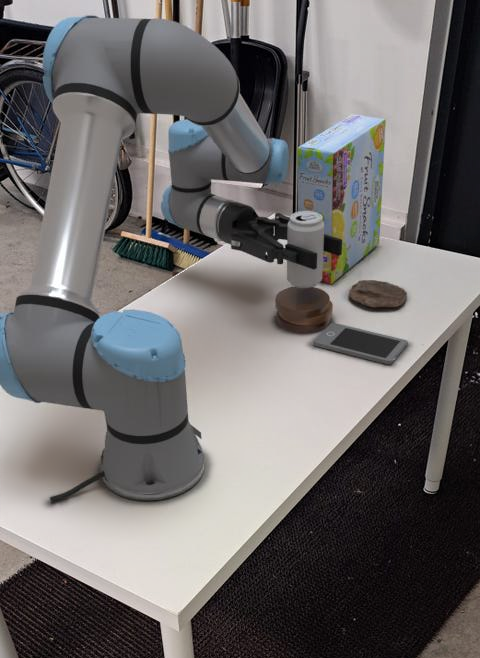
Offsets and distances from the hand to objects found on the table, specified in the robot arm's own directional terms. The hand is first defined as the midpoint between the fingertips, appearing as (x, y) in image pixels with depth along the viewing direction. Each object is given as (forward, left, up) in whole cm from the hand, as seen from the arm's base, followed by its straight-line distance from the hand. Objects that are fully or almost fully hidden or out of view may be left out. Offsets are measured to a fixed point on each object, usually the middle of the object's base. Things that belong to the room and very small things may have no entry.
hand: (328, 254), depth 148 cm
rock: (+16, 0, -14) cm, 21 cm away
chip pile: (0, +5, -14) cm, 15 cm away
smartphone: (-1, -9, -14) cm, 17 cm away
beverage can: (0, +5, -7) cm, 8 cm away
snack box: (+25, +16, -14) cm, 32 cm away
